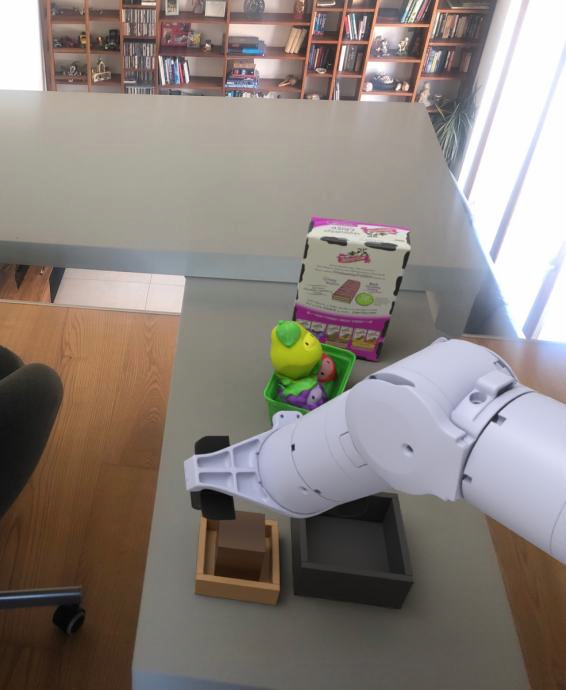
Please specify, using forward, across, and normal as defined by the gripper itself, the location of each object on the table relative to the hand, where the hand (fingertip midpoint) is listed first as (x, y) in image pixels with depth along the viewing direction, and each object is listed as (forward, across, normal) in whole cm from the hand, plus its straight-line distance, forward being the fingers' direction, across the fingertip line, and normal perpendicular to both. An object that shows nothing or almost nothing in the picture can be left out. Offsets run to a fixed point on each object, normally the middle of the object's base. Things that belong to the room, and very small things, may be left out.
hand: (241, 494), depth 54 cm
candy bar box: (+22, -26, -22) cm, 41 cm away
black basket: (+10, -14, +4) cm, 18 cm away
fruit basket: (+19, -17, -13) cm, 29 cm away
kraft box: (+12, -4, +4) cm, 14 cm away
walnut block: (+12, -4, +4) cm, 13 cm away
